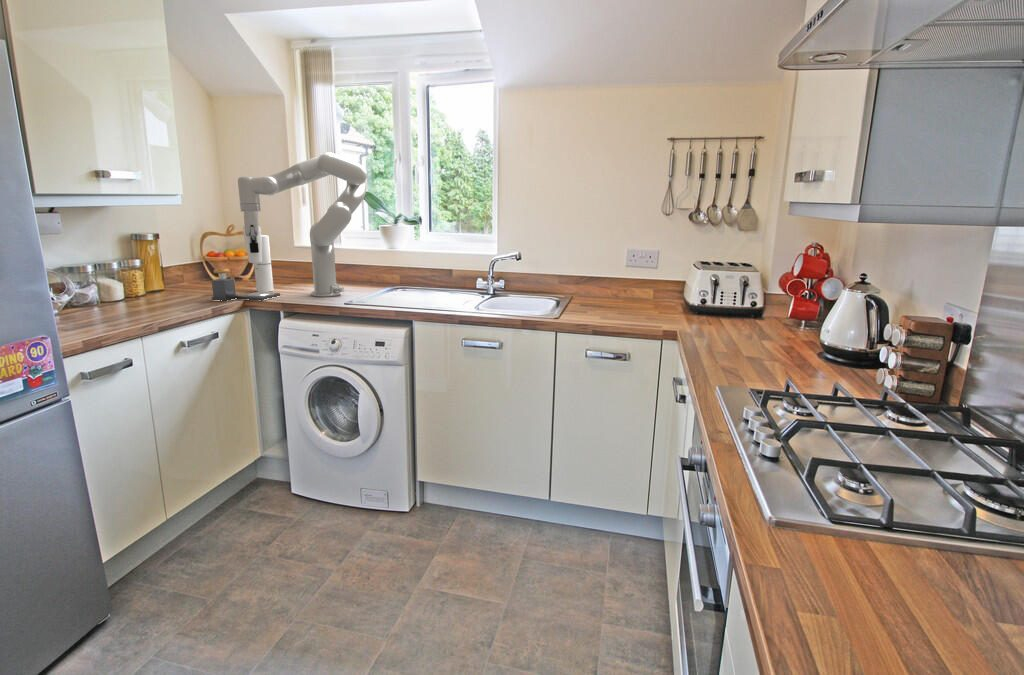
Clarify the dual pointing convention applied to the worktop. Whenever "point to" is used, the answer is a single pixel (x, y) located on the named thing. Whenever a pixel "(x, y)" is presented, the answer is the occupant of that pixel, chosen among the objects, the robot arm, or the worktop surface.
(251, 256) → the drinking glass
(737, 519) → the worktop surface
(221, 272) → the plunger
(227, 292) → the press base
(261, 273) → the cylindrical container
